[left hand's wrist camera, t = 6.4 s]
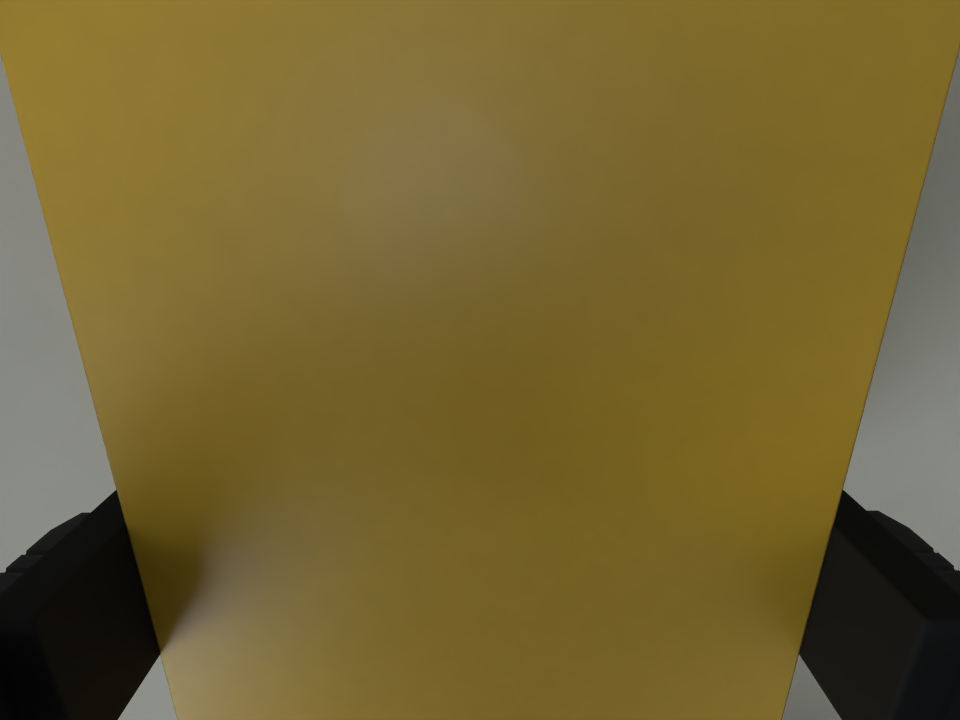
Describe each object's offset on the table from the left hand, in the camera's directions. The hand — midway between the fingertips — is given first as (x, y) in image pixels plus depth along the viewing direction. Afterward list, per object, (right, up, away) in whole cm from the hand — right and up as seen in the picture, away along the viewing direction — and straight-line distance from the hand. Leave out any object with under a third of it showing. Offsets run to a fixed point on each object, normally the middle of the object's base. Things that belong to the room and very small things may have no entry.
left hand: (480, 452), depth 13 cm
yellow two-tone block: (0, +6, +2) cm, 6 cm away
